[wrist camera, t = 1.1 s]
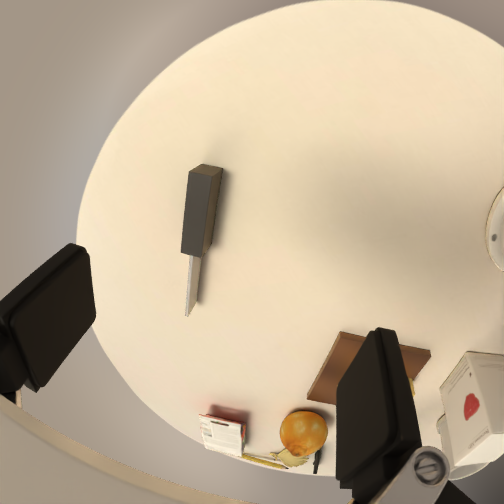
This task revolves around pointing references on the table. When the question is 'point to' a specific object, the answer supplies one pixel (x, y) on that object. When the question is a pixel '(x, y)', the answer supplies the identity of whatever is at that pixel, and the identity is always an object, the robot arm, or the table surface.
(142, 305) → the table surface
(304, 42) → the table surface
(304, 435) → the fruit
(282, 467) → the pencil
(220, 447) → the ink box
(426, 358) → the board
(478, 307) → the table surface
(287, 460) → the hand fan
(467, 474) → the cup
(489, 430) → the white product box
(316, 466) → the folding knife
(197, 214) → the knife
